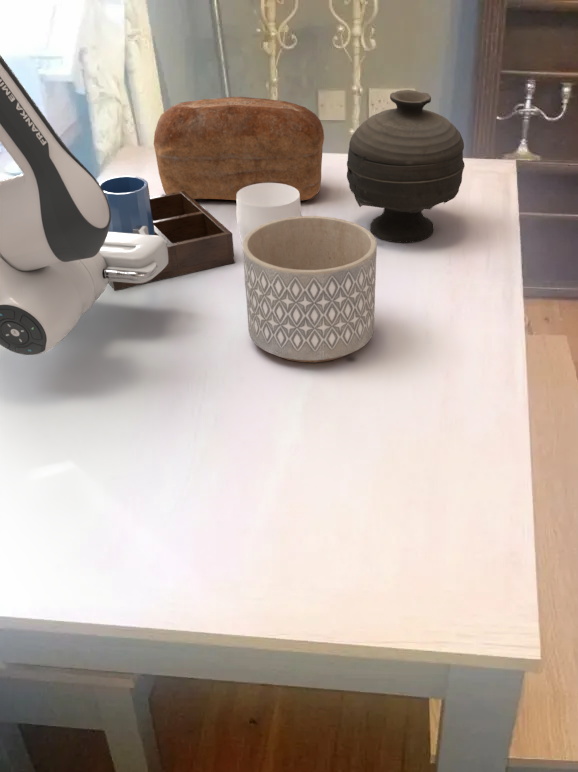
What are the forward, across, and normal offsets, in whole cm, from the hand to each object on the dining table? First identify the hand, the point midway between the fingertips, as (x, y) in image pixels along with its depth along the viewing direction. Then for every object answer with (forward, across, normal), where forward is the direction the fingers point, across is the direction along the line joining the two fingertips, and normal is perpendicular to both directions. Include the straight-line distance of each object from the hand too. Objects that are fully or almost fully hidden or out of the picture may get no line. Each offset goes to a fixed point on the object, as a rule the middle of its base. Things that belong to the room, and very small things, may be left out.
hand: (110, 228), depth 123 cm
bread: (+38, -8, +9) cm, 40 cm away
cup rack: (+12, -1, +8) cm, 15 cm away
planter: (-9, -30, +9) cm, 32 cm away
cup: (+7, -21, +9) cm, 23 cm away
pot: (+28, -37, +9) cm, 47 cm away
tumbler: (+6, 0, +7) cm, 9 cm away
